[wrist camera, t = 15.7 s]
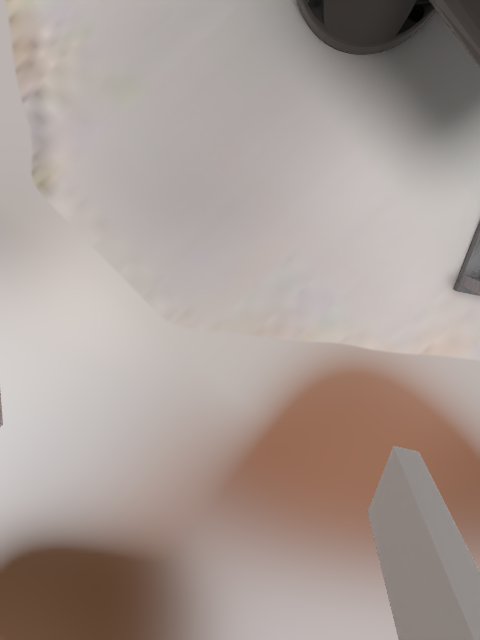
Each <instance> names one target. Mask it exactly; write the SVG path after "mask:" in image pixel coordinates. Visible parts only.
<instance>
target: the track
mask: <svg viewBox="0 0 480 640" xmlns="http://www.w3.org/2000/svg"><path fill="white" fill-rule="evenodd" d="M454 290H456V291H459V292H464V293H469V294H475V295H480V222H479V225H478V227H477V230H476V232H475V235H474V238H473V240H472V243H471V245H470V248H469V250H468V253H467V256H466V258H465V261H464V263H463V266H462V268H461V271H460V274H459V276H458V279H457V281H456V284H455V286H454Z"/></svg>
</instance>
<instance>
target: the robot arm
mask: <svg viewBox="0 0 480 640" xmlns="http://www.w3.org/2000/svg"><path fill="white" fill-rule="evenodd" d="M297 1H298V5H299V7H300V10H301V12H302V15H303V17H304V19H305V20H306V22H307V24H308V25H309V27H310V28H311V29H312V31H313V32H314V33H315V34H316V35H317V36H318V37H319V38H320V39H321V40H322V41H324V42H325V43H326V44H328V45H330V46H331V47H333V48H335V49H338V50H340V51H343V52H347V53H352V54H371V53H377V52H381V51H384V50H387V49H389V48H392V47H394V46H396V45H398V44H400V43H401V42H403V41H405V40H406V39H408V38H409V37H410V36H412V35H413V34H414V33H416V32H417V31H418V30H419V29H420V28H421V27H422V26H423V25H424V24H425V23H426V22H427V21H428V20H429V18H430V17H431V16H432V15H433V13H434V12H435V11H436V10H437V12H438V13H439V14H440V16H441V17H442V18H443V19H444V21H445V22H446V23H447V25H448V26H449V27H450V29H451V30H452V31H453V33H454V34H455V35H456V36H457V38H458V39H459V40H460V42H461V43H462V44H463V46H464V47H465V48H466V50H467V51H468V52H469V54H470V55H471V56H472V57H473V59H474V60H475V61H476V63H477V64H478V65H479V67H480V0H297ZM2 425H3V421H2V406H1V393H0V427H1V426H2ZM368 516H369V520H370V524H371V528H372V532H373V536H374V540H375V544H376V549H377V552H378V556H379V560H380V565H381V569H382V573H383V577H384V581H385V585H386V589H387V594H388V598H389V602H390V606H391V610H392V614H393V618H394V622H395V626H396V630H397V634H398V638H399V640H480V572H479V570H478V568H477V566H476V564H475V562H474V560H473V558H472V556H471V554H470V552H469V550H468V548H467V546H466V544H465V542H464V540H463V538H462V536H461V534H460V533H459V530H458V528H457V526H456V524H455V523H454V520H453V519H452V516H451V514H450V513H449V511H448V509H447V507H446V505H445V503H444V501H443V499H442V497H441V495H440V493H439V491H438V489H437V487H436V485H435V483H434V481H433V479H432V477H431V475H430V473H429V471H428V469H427V467H426V465H425V463H424V461H423V459H422V457H421V455H420V453H419V452H418V451H413V450H409V449H405V448H400V447H396V446H393V449H392V451H391V454H390V456H389V459H388V461H387V464H386V466H385V469H384V472H383V475H382V477H381V479H380V482H379V485H378V487H377V490H376V492H375V495H374V497H373V500H372V502H371V505H370V508H369V510H368Z"/></svg>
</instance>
